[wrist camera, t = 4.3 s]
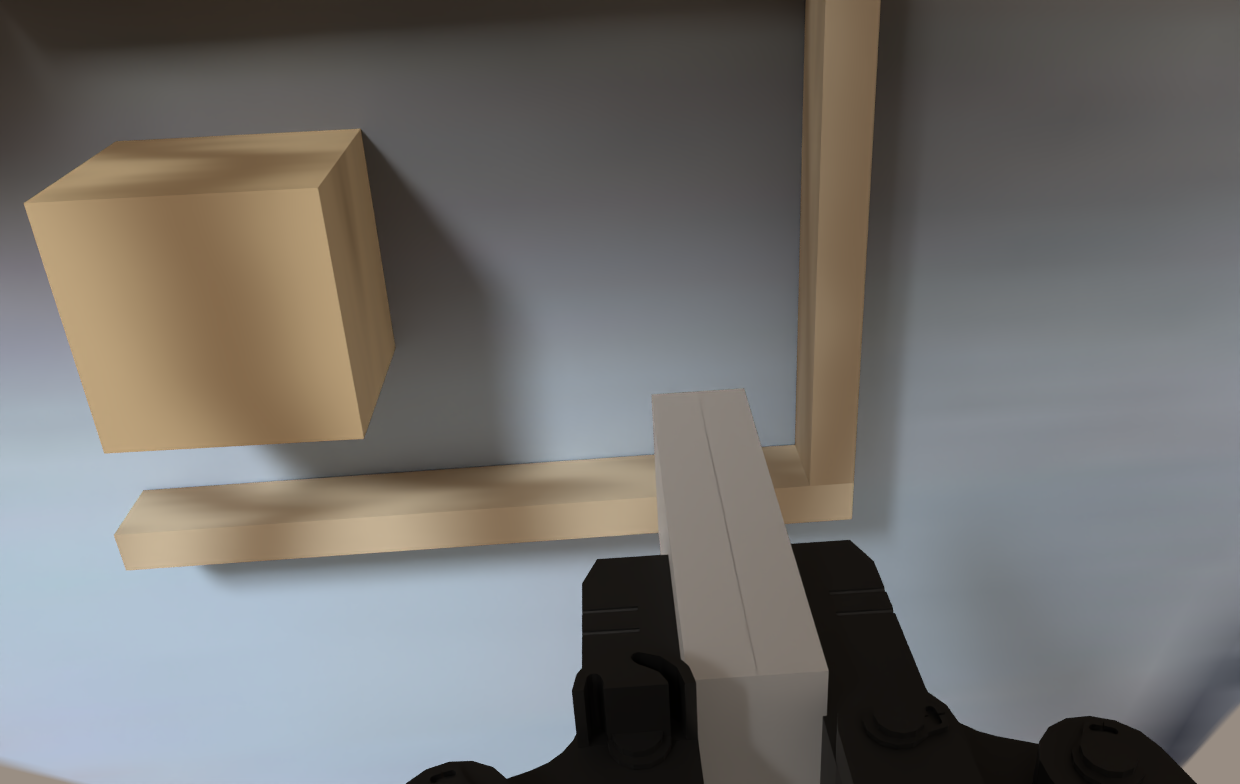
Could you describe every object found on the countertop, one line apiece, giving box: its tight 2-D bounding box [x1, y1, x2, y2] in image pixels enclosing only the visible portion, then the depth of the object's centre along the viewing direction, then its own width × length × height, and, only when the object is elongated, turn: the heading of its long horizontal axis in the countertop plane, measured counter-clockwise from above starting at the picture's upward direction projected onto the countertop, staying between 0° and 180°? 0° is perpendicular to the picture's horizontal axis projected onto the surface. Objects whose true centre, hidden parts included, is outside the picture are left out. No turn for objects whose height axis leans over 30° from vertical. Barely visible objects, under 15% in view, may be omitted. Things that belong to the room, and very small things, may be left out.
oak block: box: [24, 129, 395, 453], centre depth 25 cm, size 6×6×5 cm
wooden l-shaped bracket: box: [114, 0, 881, 570], centre depth 26 cm, size 20×16×2 cm
